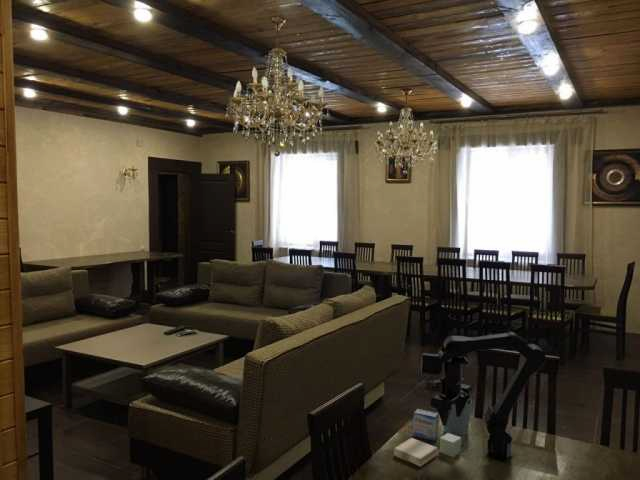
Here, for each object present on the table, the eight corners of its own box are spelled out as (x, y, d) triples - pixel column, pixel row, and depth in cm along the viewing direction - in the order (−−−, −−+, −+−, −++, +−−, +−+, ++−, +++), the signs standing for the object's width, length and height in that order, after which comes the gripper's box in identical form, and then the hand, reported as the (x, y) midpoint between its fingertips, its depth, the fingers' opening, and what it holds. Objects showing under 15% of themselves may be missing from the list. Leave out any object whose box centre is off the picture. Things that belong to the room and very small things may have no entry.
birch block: (437, 456, 175) (437, 447, 175) (420, 467, 168) (420, 458, 168) (411, 446, 182) (411, 437, 182) (394, 456, 175) (394, 448, 174)
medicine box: (412, 436, 188) (413, 412, 187) (416, 431, 192) (417, 408, 191) (434, 441, 185) (435, 417, 184) (438, 436, 189) (439, 412, 188)
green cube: (460, 451, 178) (461, 437, 177) (453, 457, 174) (453, 442, 173) (447, 446, 181) (447, 432, 180) (439, 452, 177) (440, 437, 177)
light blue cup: (436, 430, 193) (437, 398, 192) (452, 422, 200) (453, 391, 198) (460, 440, 185) (461, 407, 184) (476, 431, 192) (477, 399, 191)
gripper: (445, 363, 187) (444, 406, 189) (416, 376, 173) (415, 422, 175) (474, 370, 179) (473, 415, 181) (446, 385, 166) (445, 433, 167)
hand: (451, 421), depth 176 cm, fingers open, 9 cm apart
